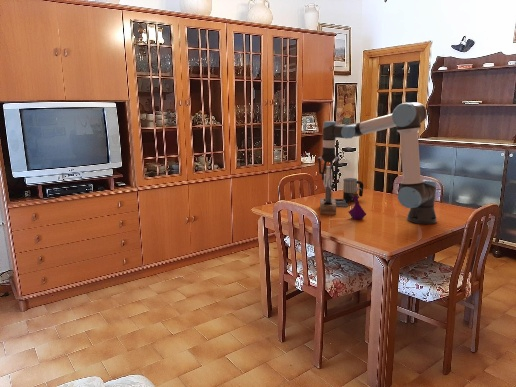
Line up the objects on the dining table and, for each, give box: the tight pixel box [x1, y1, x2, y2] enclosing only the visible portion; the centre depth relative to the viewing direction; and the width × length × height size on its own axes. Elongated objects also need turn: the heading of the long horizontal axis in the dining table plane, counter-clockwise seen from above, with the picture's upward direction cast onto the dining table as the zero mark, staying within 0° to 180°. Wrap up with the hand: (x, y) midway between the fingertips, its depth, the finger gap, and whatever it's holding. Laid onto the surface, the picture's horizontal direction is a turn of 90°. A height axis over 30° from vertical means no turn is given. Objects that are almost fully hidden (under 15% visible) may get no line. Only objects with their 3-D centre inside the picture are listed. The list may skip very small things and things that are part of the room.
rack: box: [319, 197, 337, 216], centre depth 246 cm, size 18×9×6 cm, turn 172°
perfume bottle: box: [348, 187, 367, 221], centre depth 227 cm, size 8×8×18 cm
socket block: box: [334, 198, 349, 208], centre depth 260 cm, size 10×10×3 cm
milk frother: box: [342, 177, 364, 203], centre depth 273 cm, size 14×16×15 cm
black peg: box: [324, 186, 333, 205], centre depth 241 cm, size 4×4×14 cm
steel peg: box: [324, 165, 332, 189], centre depth 247 cm, size 4×4×14 cm
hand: (327, 184), depth 248 cm, fingers closed on steel peg, 4 cm apart
